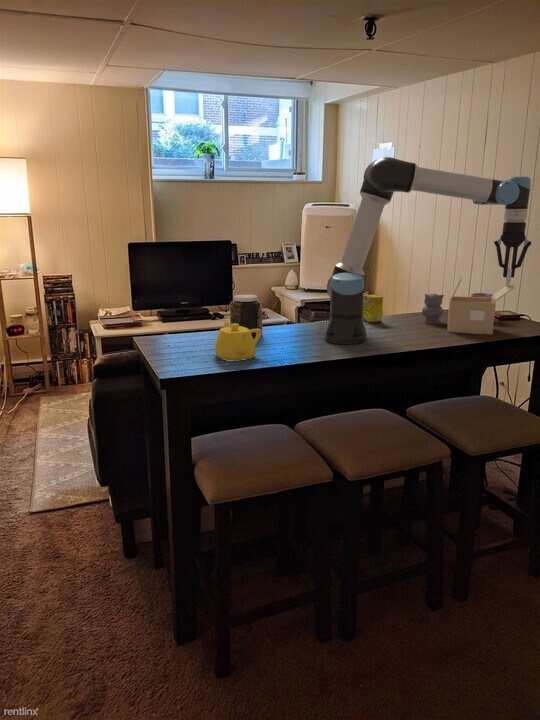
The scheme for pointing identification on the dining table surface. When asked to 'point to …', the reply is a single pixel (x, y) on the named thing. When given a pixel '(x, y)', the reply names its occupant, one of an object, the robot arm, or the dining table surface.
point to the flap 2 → (502, 292)
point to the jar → (246, 312)
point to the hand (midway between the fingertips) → (507, 286)
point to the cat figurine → (432, 308)
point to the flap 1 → (455, 287)
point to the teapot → (236, 342)
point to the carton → (471, 315)
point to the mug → (482, 295)
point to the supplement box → (372, 308)
